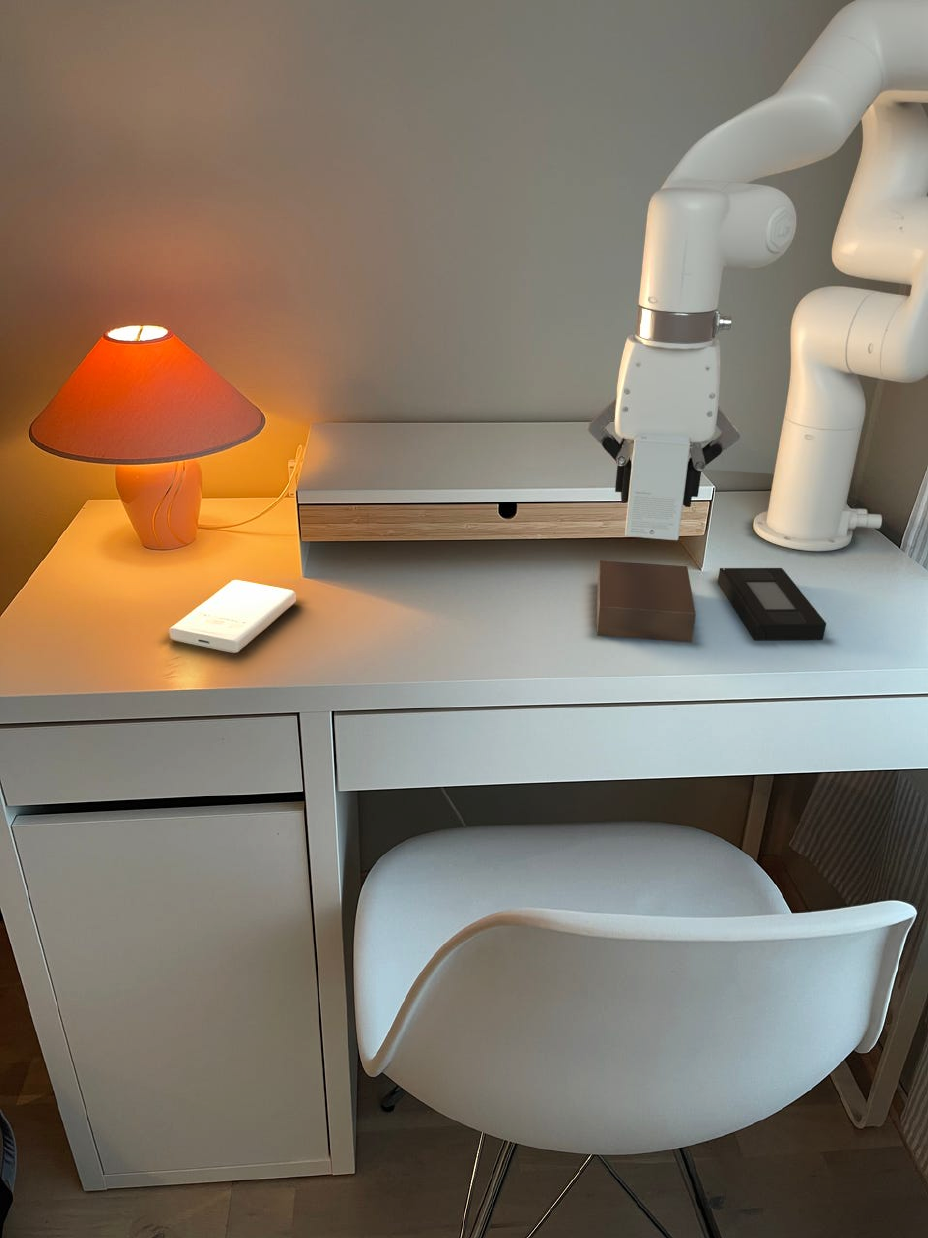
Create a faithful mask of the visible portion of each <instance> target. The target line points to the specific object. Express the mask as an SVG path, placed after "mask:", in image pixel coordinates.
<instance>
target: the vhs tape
mask: <svg viewBox="0 0 928 1238" xmlns="http://www.w3.org/2000/svg"><path fill="white" fill-rule="evenodd" d="M717 585H719V587H720V589H721V590H722V591H723V593H724V595H725V596H726V597H727V599H728V601H729V602H730V604H731V606H732V607H733V609H734V610H735V612H736V613H737V615H738V616H739V618H740V620H741V621H742V623H743V624H744V626H745V627H746V629H747V630H748V632H749V634H750V635H751V637H752V638H753V640H754V641H823V640H824V637H825V633H826V627H827V622H826V621H825V619H823V617H822V616H821V615H820V614H819V612H818V611H817V610H816V609H815V607H814V606H813V605H812V603H811V602H810V601H809V600H808V598H807V597H806V596H805V595H804V593H803V592H802V591H801V590H800V588H799V587H798V586H797V585H796V584H795V582H794V581H793V580H792V578H791V577H790V576H789V574H788V573H787V572H786V571H785V570H784V569H783V568H782V567H719V571H718V579H717Z"/></svg>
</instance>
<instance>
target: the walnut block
mask: <svg viewBox="0 0 928 1238" xmlns="http://www.w3.org/2000/svg"><path fill="white" fill-rule="evenodd" d="M596 599H597V600H596V602H597V603H596V604H597V605H596V606H597V607H596V609H597V610H596V636H602V637H614V638H629V639H639V640H640V639H641V640H655V641H666V642H667V641H669V642H680V643H692V641H693V635H694V628H695V620H696V614H697V613H696V606H695V601H694V596H693V591H692V585H691V580H690V574H689V569H688V566H687V565H676V564H675V565H674V564H660V563H647V562H646V563H645V562H644V563H643V562H631V561H630V562H629V561H615V560H603V559H602V560H601V559H600V561H599V568H598V579H597V598H596Z"/></svg>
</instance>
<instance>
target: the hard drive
mask: <svg viewBox="0 0 928 1238" xmlns="http://www.w3.org/2000/svg"><path fill="white" fill-rule="evenodd" d="M296 603H297V593H296V592H295V590H291V589H288V588H287V589H286V588H281V587H276V586H270V585H267V584H266V585H265V584H260V583H255V582H250V581H244V580H240V579H239V580H238V579H234V580H231V582H230V581H229V583H228V584H226V585H225V586H224V587H222V588H221V589H220V590H219V591H217V592H216V593H214V594H213V595H212V596H211V597H209V598H208V599H207V600H205V601H204V602H202V604H200V605H199V606H197V607H196V608H195V609H193V610H192V611H191V612H190V613H188V614H187V615H185V617H183V618H181V619H180V620H179V621H178V622H176V623H175V624H174V625H172V626H171V627H170V628H169V629H168V632H169V638H170V639H171V640H173V641H175V642H179V643H184V644H189V645H193V646H199V647H204V648H208V649H212V650H218V651H221V652H227V653H232V654H235V653H239V652H240V651H241V650H242V649H244V648H245V647H247V646H248V644H250V643H251V642H252V641H253V640H254V639H255V638H257V636H258V635H259V636H260V634H261V633H262V632H264V631H265V630H266V629H267V628H268V627H269V626H270V625H272V623H274V622H275V621H277V619H278V618H280V617H281V615H283V614H284V613H285V612H286V611H287V610H289V608H291V607H292V606H293V605H295V604H296Z"/></svg>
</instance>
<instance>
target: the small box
mask: <svg viewBox="0 0 928 1238" xmlns="http://www.w3.org/2000/svg"><path fill="white" fill-rule="evenodd" d="M689 458H690V438H686V437H674V436H636V437H635V440H634V449H633V452H632V460H631V465H632V468H631V478H630V487H629V498H628V502H627V508H626V521H625V531H624V535H625V537H633V538H645V539H657V540H666V541H667V540H668V541H679V538H680V530H681V524H682V523H681V522H682V513H683V506H684V505H683V499H684V491H685V483H686V475H687V467H688V461H689Z"/></svg>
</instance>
